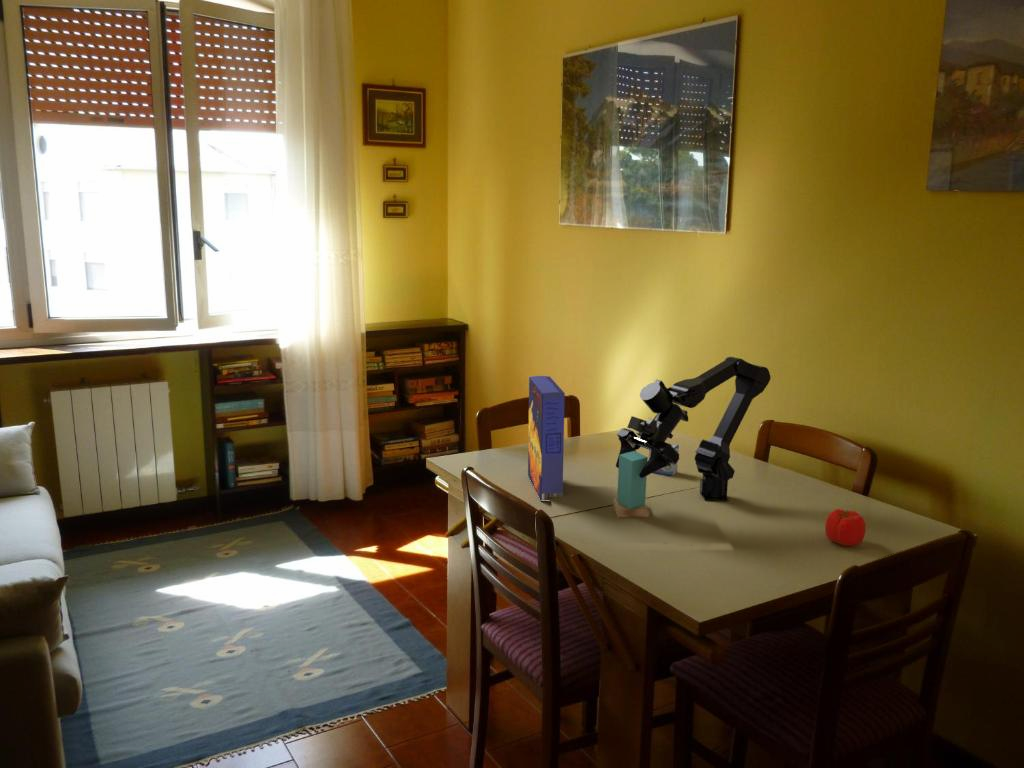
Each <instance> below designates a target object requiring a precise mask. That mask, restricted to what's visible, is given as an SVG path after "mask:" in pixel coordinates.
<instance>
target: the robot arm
mask: <svg viewBox="0 0 1024 768" xmlns="http://www.w3.org/2000/svg"><path fill="white" fill-rule="evenodd" d="M734 377H735V380H734V385H735V386H734V387H735V392H734V394H733V395H732V398H731V400H730V401H729V403H728V406H726V407H727V408H726V409H725V412H724V413H723V416H722V418H721V420H720V422H719V423H718V425H717V427H716V430H715V431H714V432H713V435H712V437H710V438H709V439H708V440H706V439H702V440H700V443H699V446H698V448H697V449H696V450H695V453H696V454H695V455H694V461H695V464H696V468H697V472H698V473H700V474H702V477H701V478H699V479H700V481H699V494H700V495H701V496H702V499H703V500H704V501H729V499H730V498H729V497H728V483H729V481H730V480H731V479H733V478H734V476H735V475H734V474H735V472H736V471H735V469H734V468H733V467H732V465H730V463H729V461H730V458H731V448H730V446H731V443H732V441H733V439H734V438H735V435H736V433H737V431H738V429H739V427H740V425H741V423H742V421H743V419H744V417H745V416H746V413H747V411H748V410H749V407H750V405H751V403H752V401H753V400H754V399H755V398H756V397H758V396H759V395H760V394H762V393H763V392H764V391H765V389H766V387H768V385H769V383H770V381H771V374H770V370H769V369H768V367H766V366H762V365H758V364H752V363H750V362H748V361H746V360H744V359H743V358H740V357H734V356H728V357H726V358H725V359H724V360H723V361H721V362H720V363H718V364H717V365H715V366H713V367H711V368H710V369H708V370H706V371H704V372H703V373H701V374H700V375H698V376H696V377H693V378H686V379H683V380H680V381H677V382H675V383H674V384H673V385H671V386H670V387H667V386H666V384H665V383H664V382H663V381H662V380H660V379H655V380H654V382H651V383H649V384H647V385H645V386H643V388H642V389H641V390H640V392H639V397H640V399H641V400H642V402H643V403H644V404H645V405H646V406H647V407H648V409H649V410H650V411H651V412H652V413H653V414H656V415H655V416H654V417H653V419H652V418H647V419H646V420H644V419H641V418H639V417H637V416H634V415H631V417H630V419H629V421H628V424H627V427H623V428H620V429H619V430H618V432H617V433H616V436H617V437H618V441H620V449H619V453H618V457H617V460H616V464H615V467H616V468H617V469H619V455H620V454H624V453H628V452H632V451H636V452H637V450H639V449H641V448H644V449H646V450H648V451H649V450H651V457H650V459H649V458H648V460H647V463H646V465H645V466H644V468H643V469H642V471H641V473H640V474H639V476H640V478H643V477H645V476H647V477H648V476H649V475H651V474H654V473H653V472H655V471H657V470H659V469H661V468H664V467H666V466H670V465H671V464H673V465H675V464H676V463H677V462H678V463H679V460H680V453H679V451H678V452H677V451H676V450H675V449H674V448H673V447H672V445H671V444H672V443H668V442H666V441H667V440H668V439H670V440H671V439H673V437H674V435H673V433H672V432H673V431H674V430H675V429H676V427H677V426H678V424H679V423H680V422H681V421H683V422H689V416H688V410H685V409H682V408H681V406H682V407H686V408H689V409H693V408H695V407H697V406H698V405H699V404H701V403H702V402H703V401H704V400H705V398H706V395H707V393H709V392H710V391H712V390H714V389H715V388H717V387H719V386H720V385H723V383H725V382H727V381H729V380H730V379H732V378H734ZM631 429H632V430H631ZM633 430H634V431H633ZM635 431H636V432H635Z"/></svg>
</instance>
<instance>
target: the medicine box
mask: <svg viewBox="0 0 1024 768" xmlns="http://www.w3.org/2000/svg"><path fill="white" fill-rule="evenodd" d="M670 444H671V445H672V447H673V448H674V449H675V450H676V451H677V452H678V453H679V447H680V444H674V443H670ZM650 457H651V450H649V449H648V460H649V459H650ZM678 467H679V461H678V462H677V463H676V464H675V465H673V464H671V465H670V466H666V467H664V468H661V469H659V470H657V471H655V472H653V473H652V474H658V475H659V474H660V475H665V476H671V477H672V476H675V475H676V474H677V473H678Z"/></svg>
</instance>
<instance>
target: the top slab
mask: <svg viewBox="0 0 1024 768" xmlns="http://www.w3.org/2000/svg"><path fill="white" fill-rule="evenodd" d="M613 509H614V512H615V514H616V517H617V518H650V508H649V506H648V503H647V501H646V500H645V505H643V506H639V507H636V508H633V509H628V508H627V507H625V506H623V505H621V504H620V503H618V502H617V498H613Z"/></svg>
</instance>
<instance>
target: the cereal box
mask: <svg viewBox="0 0 1024 768" xmlns="http://www.w3.org/2000/svg"><path fill="white" fill-rule="evenodd" d="M565 396H566V393H565V392H564V390H562V388H561V387H560V386H559V384H557V382H555V380H554V379H553V378H551V376H547V375H546V376H545V375H537V376H536V375H535V376H529V377H528V443H527V444H528V447H527V449H528V450H527V452H528V454H527V455H528V456H527V467H528V468H527V476H529V477H528V479H529V478H530V479H529V481H530V480H531V481H530V483H531V482H532V483H531V485H532V484H533V485H532V487H533V486H534V488H535V490H536V492H537V494H538V496H539V498H540V500H551V501H552V499H551V498H557V497H558V498H559V497H562V498H563V496H564V494H563V492H564V491H563V489H564V486H563V485H564V450H565V449H564V443H565V442H564V441H565V438H564V437H565ZM534 488H533V489H534ZM535 490H534V491H535ZM536 492H535V493H536ZM537 494H536V495H537ZM538 496H537V497H538ZM539 498H538V499H539ZM540 500H539V501H540Z"/></svg>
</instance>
